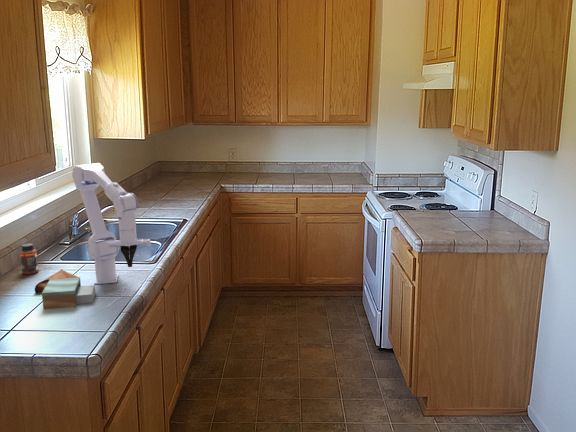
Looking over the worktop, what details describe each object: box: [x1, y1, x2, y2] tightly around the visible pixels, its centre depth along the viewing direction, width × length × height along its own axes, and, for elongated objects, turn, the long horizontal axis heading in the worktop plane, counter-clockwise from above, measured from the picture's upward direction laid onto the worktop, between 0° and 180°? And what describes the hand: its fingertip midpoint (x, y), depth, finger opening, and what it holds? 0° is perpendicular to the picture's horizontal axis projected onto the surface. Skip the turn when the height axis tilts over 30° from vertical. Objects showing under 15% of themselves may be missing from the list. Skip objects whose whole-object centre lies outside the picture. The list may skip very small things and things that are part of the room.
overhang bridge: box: [41, 276, 82, 310], centre depth 188 cm, size 13×10×6 cm
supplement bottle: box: [19, 242, 39, 275], centre depth 216 cm, size 6×6×11 cm
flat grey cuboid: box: [75, 284, 96, 305], centre depth 189 cm, size 9×14×3 cm, turn 102°
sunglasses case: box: [34, 268, 79, 294], centre depth 203 cm, size 18×7×7 cm, turn 174°
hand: (130, 266), depth 195 cm, fingers closed
